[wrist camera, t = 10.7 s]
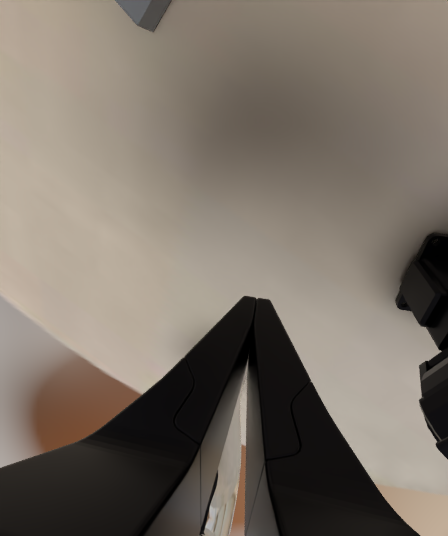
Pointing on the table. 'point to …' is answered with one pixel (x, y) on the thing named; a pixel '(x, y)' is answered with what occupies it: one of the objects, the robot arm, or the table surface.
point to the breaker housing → (144, 11)
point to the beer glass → (225, 481)
